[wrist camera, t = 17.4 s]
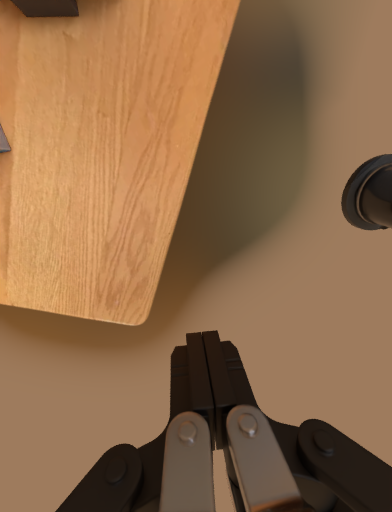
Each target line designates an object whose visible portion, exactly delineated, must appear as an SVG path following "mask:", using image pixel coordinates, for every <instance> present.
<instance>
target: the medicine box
mask: <svg viewBox="0 0 392 512" xmlns="http://www.w3.org/2000/svg"><path fill="white" fill-rule="evenodd" d="M7 151H11V149H10V146H9V144H8V141H7V139H6V136H5V134H4V132H3V130H2V127H1V125H0V153H2V152H7Z"/></svg>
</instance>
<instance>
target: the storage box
mask: <svg viewBox="0 0 392 512" xmlns="http://www.w3.org/2000/svg"><path fill="white" fill-rule="evenodd" d="M11 1H12V2H13V3H14V4H15V5H16V6H17V7H18V8H19V9H20V10H21V11H22V13H23V14H24V15H25V16H26V17H53V16H79V14H78V8H77V3H76V0H11Z"/></svg>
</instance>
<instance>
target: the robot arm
mask: <svg viewBox="0 0 392 512" xmlns="http://www.w3.org/2000/svg"><path fill="white" fill-rule="evenodd" d="M354 205H355V210H356V213H357V215H358V216H359V217H360V218H361V219H362V220H363V221H365V222H368V223H372V224H378V225H382V227H379V228H380V229H387V228H392V163H387V164H383V165H380V166H378V167H376V168H375V169H373V170H372V171H371V172H369V173H368V174H367V175H366V176H365V178H364V179H363V180H362V182H361V183H360V185H359V187H358V189H357V191H356V194H355V200H354ZM186 341H187V345H185V346H176V347H175V349H174V351H173V353H172V355H171V389H170V390H171V391H170V394H171V395H170V397H171V398H170V418H169V422H168V424H167V426H166V428H165V429H164V431H163V432H162V433H161V434H160V435H159V436H158V437H157V438H156V439H154V440H153V441H151V442H149V443H147V444H145V445H143V446H141V447H140V448H138V449H136V448H135V447H134V446H133V445H130V444H119V445H116V446H114V447H112V448H110V449H109V450H108V451H107V452H105V453H104V454H103V455H102V457H101V458H100V459H99V460H98V461H97V462H96V464H95V465H94V466H93V467H92V469H91V470H90V471H89V472H88V473H87V475H86V476H85V477H84V478H83V479H82V480H81V482H80V483H79V484H78V485H77V486H76V488H75V489H74V490H73V491H72V493H71V494H70V495H69V496H68V497H67V498H66V500H65V501H64V502H63V503H62V504H61V505H60V507H59V508H58V509H57V510H56V511H55V512H216V511H215V499H214V484H213V452H212V451H214V450H215V442H216V448H217V450H219V449H223V451H224V457H225V462H226V476H227V481H228V486H229V490H230V494H231V499H232V503H233V507H234V512H392V467H391V466H389V465H388V464H386V463H385V462H383V461H382V460H381V459H379V458H378V457H376V456H375V455H373V454H372V453H371V452H369V451H367V450H366V449H365V448H363V447H362V446H360V445H359V444H357V443H356V442H355V441H353V440H352V439H350V438H349V437H347V436H346V435H344V434H343V433H341V432H340V431H338V430H337V429H336V428H334V427H333V426H331V425H330V424H328V423H326V422H324V421H321V420H318V419H309V420H306V421H304V422H303V423H302V424H301V425H300V427H296V426H291V425H287V424H283V423H279V422H276V421H274V420H272V419H270V418H269V417H268V416H266V415H265V414H264V413H263V412H262V411H261V410H260V408H259V407H258V405H257V403H256V400H255V398H254V395H253V392H252V389H251V386H250V384H249V381H248V378H247V375H246V372H245V369H244V367H243V364H242V361H241V358H240V356H239V353H238V350H237V348H236V347H235V346H234V345H233V344H232V343H231V342H230V341H223V342H220V338H219V334H218V331H217V330H216V331H206V332H202V335H201V332H198V333H187V334H186Z"/></svg>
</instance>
